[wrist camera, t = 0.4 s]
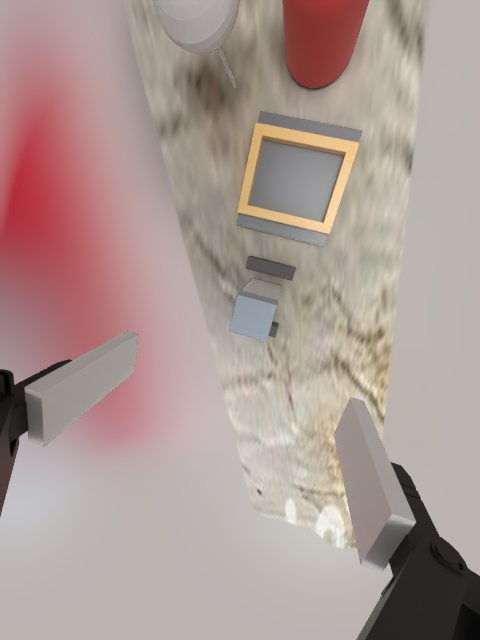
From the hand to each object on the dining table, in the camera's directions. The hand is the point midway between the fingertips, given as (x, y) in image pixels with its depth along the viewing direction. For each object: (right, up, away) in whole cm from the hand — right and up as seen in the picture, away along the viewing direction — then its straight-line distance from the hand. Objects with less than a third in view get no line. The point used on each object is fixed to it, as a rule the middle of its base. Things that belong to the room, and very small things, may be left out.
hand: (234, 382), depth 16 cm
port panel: (+7, +20, +15) cm, 26 cm away
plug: (+4, +7, +20) cm, 21 cm away
